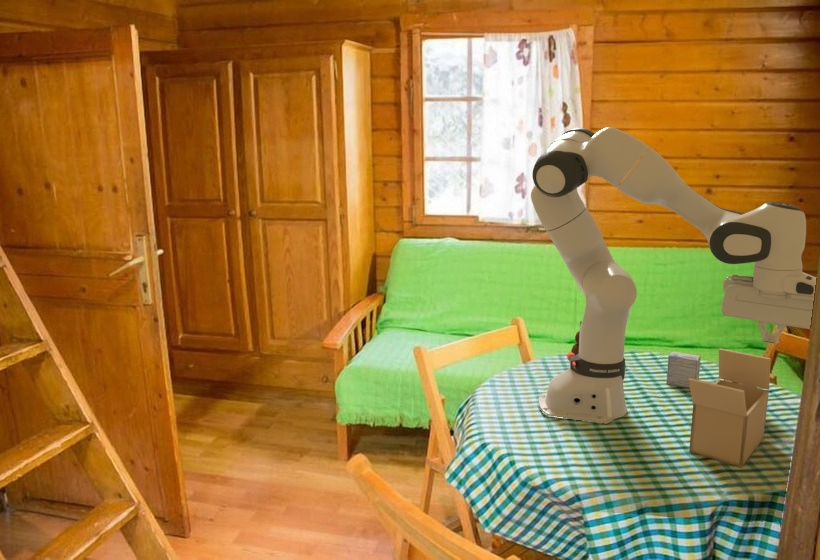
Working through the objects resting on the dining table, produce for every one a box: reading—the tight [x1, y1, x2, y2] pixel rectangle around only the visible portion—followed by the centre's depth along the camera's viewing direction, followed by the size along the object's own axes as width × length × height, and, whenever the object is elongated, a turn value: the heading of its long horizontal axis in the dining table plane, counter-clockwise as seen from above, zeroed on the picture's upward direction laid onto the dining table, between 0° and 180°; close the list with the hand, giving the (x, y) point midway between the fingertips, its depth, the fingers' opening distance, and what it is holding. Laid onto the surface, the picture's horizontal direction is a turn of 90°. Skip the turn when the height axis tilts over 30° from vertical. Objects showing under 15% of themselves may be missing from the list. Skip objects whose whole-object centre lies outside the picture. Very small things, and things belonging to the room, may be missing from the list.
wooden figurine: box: [570, 320, 583, 355], centre depth 196 cm, size 7×6×15 cm
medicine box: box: [666, 351, 701, 389], centre depth 182 cm, size 8×4×9 cm, turn 58°
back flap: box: [718, 348, 771, 391], centre depth 150 cm, size 11×8×1 cm
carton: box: [688, 378, 770, 468], centre depth 147 cm, size 11×17×12 cm, turn 138°
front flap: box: [688, 378, 747, 417], centre depth 137 cm, size 11×8×1 cm
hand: (770, 342), depth 140 cm, fingers closed
